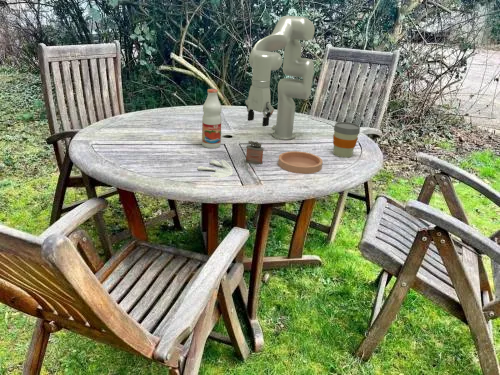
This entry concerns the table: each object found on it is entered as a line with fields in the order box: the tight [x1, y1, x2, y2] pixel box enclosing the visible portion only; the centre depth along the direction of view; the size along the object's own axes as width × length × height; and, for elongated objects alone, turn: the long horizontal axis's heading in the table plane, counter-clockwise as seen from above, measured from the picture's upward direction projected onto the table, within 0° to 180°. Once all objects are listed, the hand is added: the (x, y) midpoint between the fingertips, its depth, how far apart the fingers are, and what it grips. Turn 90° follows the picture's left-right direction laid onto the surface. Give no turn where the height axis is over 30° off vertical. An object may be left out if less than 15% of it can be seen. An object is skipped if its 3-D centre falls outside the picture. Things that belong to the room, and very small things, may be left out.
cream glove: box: [197, 159, 234, 179], centre depth 179 cm, size 20×22×2 cm
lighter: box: [245, 140, 265, 166], centre depth 185 cm, size 8×3×10 cm, turn 71°
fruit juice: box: [201, 88, 223, 149], centre depth 199 cm, size 9×9×28 cm
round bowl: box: [277, 150, 324, 175], centre depth 187 cm, size 20×20×3 cm
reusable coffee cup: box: [332, 121, 361, 158], centre depth 202 cm, size 13×13×15 cm
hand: (257, 123), depth 180 cm, fingers open, 9 cm apart
